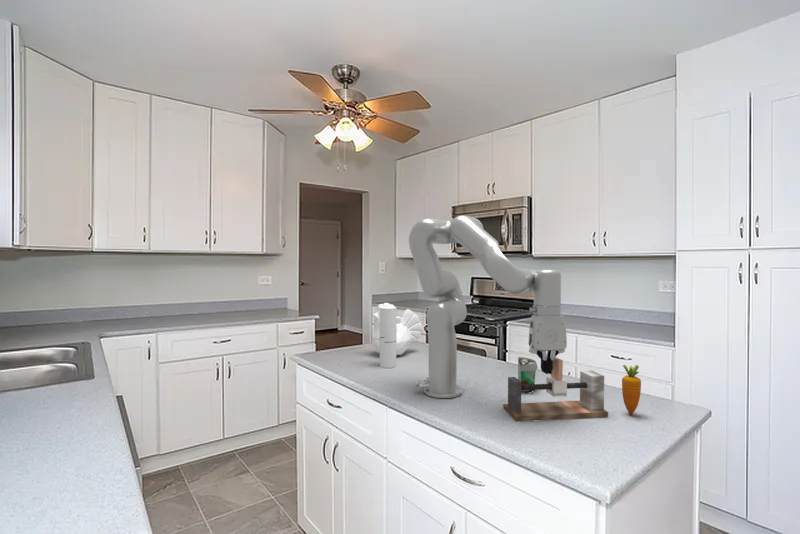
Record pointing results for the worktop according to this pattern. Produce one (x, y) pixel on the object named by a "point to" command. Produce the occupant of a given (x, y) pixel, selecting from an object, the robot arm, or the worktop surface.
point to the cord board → (585, 408)
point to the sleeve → (557, 380)
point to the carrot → (631, 389)
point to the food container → (526, 372)
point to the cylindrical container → (388, 336)
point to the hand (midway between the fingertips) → (546, 372)
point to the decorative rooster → (399, 330)
